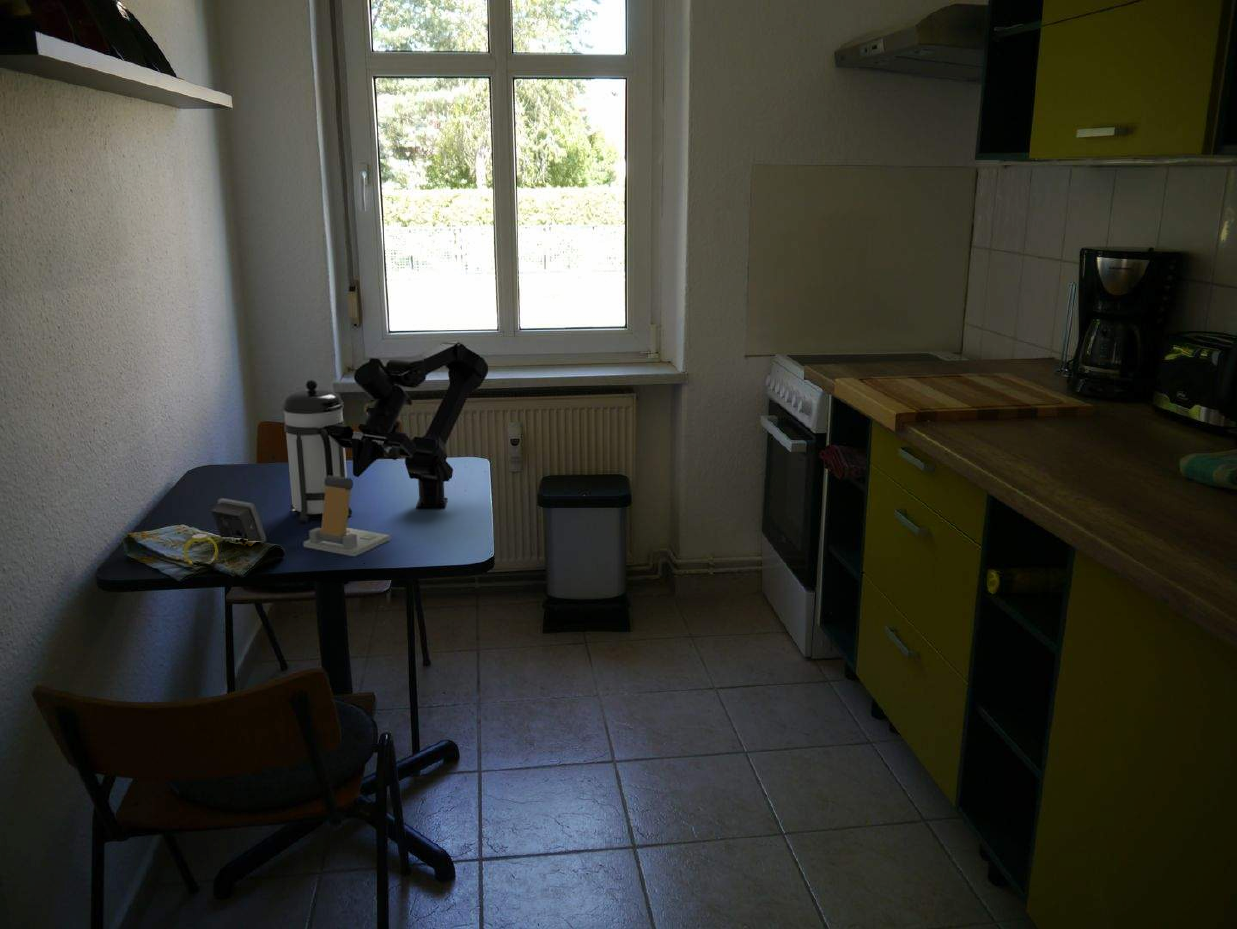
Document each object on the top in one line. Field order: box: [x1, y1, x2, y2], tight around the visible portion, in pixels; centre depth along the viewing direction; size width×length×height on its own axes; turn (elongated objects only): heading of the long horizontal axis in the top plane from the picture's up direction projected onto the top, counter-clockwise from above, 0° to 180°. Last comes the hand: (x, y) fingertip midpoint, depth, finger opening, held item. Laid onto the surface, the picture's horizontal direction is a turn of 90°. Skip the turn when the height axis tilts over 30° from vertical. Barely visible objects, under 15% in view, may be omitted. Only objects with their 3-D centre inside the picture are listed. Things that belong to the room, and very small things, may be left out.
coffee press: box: [281, 379, 353, 524], centre depth 224 cm, size 17×16×30 cm
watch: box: [183, 533, 219, 566], centre depth 197 cm, size 6×3×6 cm, turn 120°
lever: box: [318, 475, 354, 544], centre depth 206 cm, size 2×6×13 cm, turn 65°
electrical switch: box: [210, 497, 267, 543], centre depth 209 cm, size 9×5×9 cm, turn 65°
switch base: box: [302, 527, 391, 557], centre depth 210 cm, size 11×13×4 cm
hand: (355, 475), depth 210 cm, fingers closed
